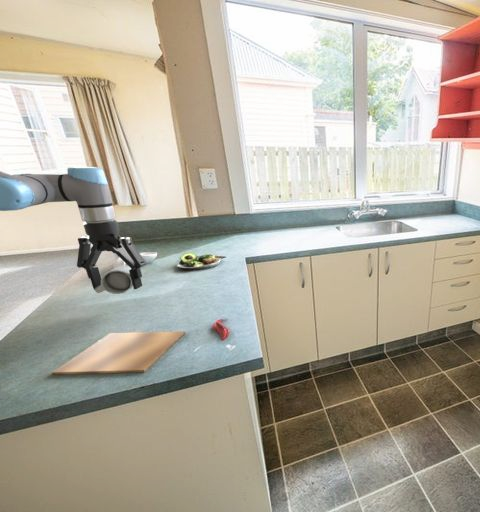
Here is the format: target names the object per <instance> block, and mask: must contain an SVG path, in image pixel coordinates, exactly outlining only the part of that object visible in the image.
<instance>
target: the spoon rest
mask: <svg viewBox="0 0 480 512" xmlns="http://www.w3.org/2000/svg"><path fill="white" fill-rule="evenodd" d="M139 253H140V255H141V256H142V258H143V259H144V261H145V262H146V265H147V264H149V263H151V262H153V261H154V260H155V259H156V258H157V256H158V252H156V251H147V252H139ZM118 266H126V263H125V262H124V261H123V260H122V259H121V258H120V257H119V256H118V257H117V258H116V261H115V263H114V266H113V268H115V267H118Z"/></svg>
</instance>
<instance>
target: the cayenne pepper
mask: <svg viewBox="0 0 480 512" xmlns="http://www.w3.org/2000/svg"><path fill="white" fill-rule="evenodd" d="M222 322H223V319H222V318H220V319H218V320H216V321H215V322H213V324H212V330H213V331H214V332H217V333H218V334H219V335H220V337H221V341H224V340H226V339H227V338H228V337H229V335H230V333H229V329H228V328H227V326H225V325H223V324H222Z"/></svg>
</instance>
